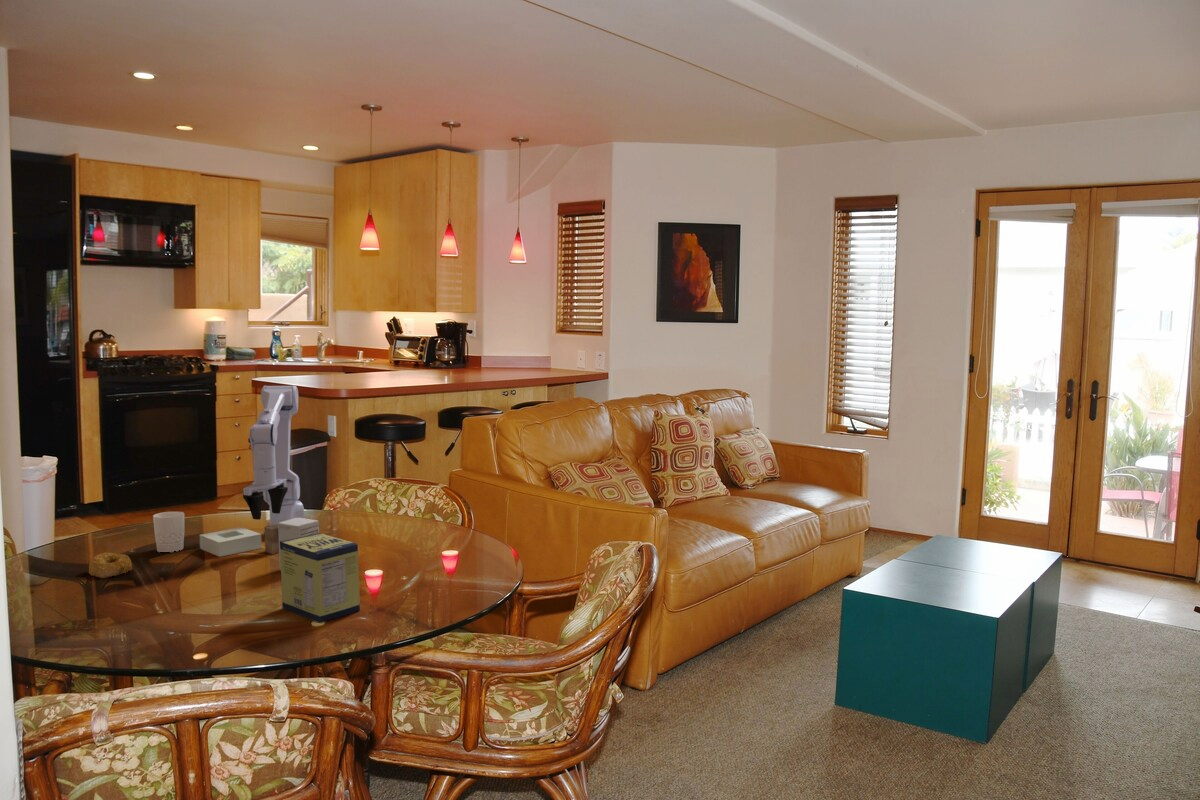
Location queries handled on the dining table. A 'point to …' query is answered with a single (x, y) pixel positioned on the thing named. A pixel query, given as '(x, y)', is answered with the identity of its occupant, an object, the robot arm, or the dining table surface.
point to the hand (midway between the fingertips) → (266, 516)
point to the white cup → (169, 531)
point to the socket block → (230, 541)
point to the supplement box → (296, 530)
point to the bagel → (109, 565)
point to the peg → (271, 539)
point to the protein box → (319, 577)
